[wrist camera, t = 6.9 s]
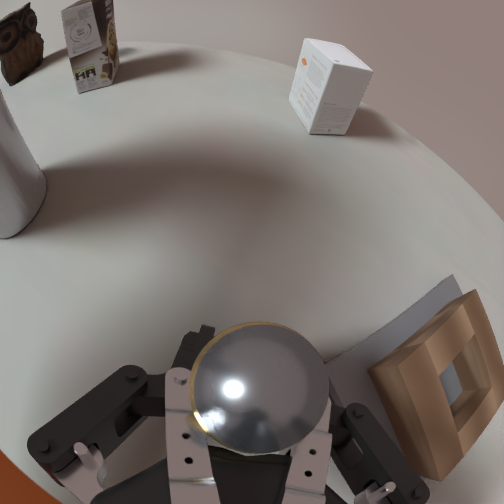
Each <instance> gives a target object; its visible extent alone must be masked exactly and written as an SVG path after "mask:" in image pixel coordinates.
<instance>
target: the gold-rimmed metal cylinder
mask: <svg viewBox="0 0 504 504" xmlns="http://www.w3.org/2000/svg"><path fill="white" fill-rule="evenodd" d="M328 397H329V378H328V373H327V369H326V366H325V364H324V362H323V360H322V358H321V356H320V354H319V353H318V352H317V350H316V349H315V348H314V347H313V346H312V345H311V344H310V343H309V342H308V341H307V340H306V339H305V338H304V337H303V336H301V335H300V334H299V333H297V332H295V331H293V330H292V329H289V328H287V327H285V326H282V325H278V324H275V323H269V322H249V323H244V324H240V325H237V326H234V327H231V328H229V329H227V330H225V331H223V332H221V333H220V334H218V335H217V336H215V337H214V338H213V339H212V340H211V341H209V342H208V343H207V345H206V346H205V347H204V348H203V349H202V351H201V352H200V353H199V355H198V356H197V358H196V360H195V362H194V365H193V368H192V370H191V374H190V379H189V398H190V403H191V407H192V410H193V412H194V415H195V417H196V419H197V420H198V422H199V424H200V425H201V426H202V428H203V429H204V430H205V431H206V432H207V433H208V434H209V435H210V436H211V437H212V438H213V439H215V440H216V441H217V442H219V443H221V444H222V445H224V446H226V447H228V448H231V449H233V450H236V451H240V452H245V453H254V454H258V453H269V452H276V451H279V450H283V449H286V448H288V447H290V446H293V445H294V444H296V443H298V442H299V441H301V440H302V439H304V438H305V437H306V436H307V435H308V434H309V433H310V432H311V431H312V430H313V429H314V428H315V427H316V425H317V424H318V423H319V421H320V419H321V418H322V416H323V414H324V411H325V409H326V406H327V402H328Z"/></svg>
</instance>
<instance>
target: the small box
mask: <svg viewBox="0 0 504 504" xmlns="http://www.w3.org/2000/svg"><path fill="white" fill-rule="evenodd" d="M372 74H373V70H371V69H370V68H369V67H368V66H367V65H366V64H365V63H363V62H362V61H361V60H360V59H359V58H357V57H356V56H355V55H354V54H353V53H351V52H350V51H349V50H348V49H347V48H345V47H344V46H343V45H340V44H335V43H331V42H326V41H321V40H315V39H309V38H305V39H304V43H303V46H302V50H301V54H300V58H299V62H298V65H297V69H296V73H295V77H294V80H293V84H292V88H291V92H290V96H289V99H288V100H289V102H290V103H291V105H292V107H293V108H294V110H295V111H296V113H297V115H298V116H299V118H300V120H301V121H302V123H303V125H304V126H305V128H306V130H307V131H308V133H309V134H340V135H345V134H346V132H347V130H348V127H349V125H350V123H351V121H352V119H353V117H354V115H355V112H356V110H357V108H358V106H359V104H360V101H361V99H362V97H363V95H364V92H365V90H366V88H367V86H368V83H369V81H370V79H371V77H372Z"/></svg>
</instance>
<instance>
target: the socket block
mask: <svg viewBox="0 0 504 504" xmlns="http://www.w3.org/2000/svg"><path fill="white" fill-rule="evenodd" d="M451 362H453V365H454V368H455V370H456V373H457V376H458V379H459V382H460V385H461V388H462V392H461V394H460V395H459V396H458V397H457V398H456V400H455V401H454V402H453V403H452V404H451V405H450V406H449V403H448V400H447V397H446V395H445V392H444V389H443V386H442V384H441V381H440V378H439V375H440V374H441V373H442V372H443V371H444V370H445V369H446V368H447V366H448V365H449V364H450V363H451ZM367 371H368V374H369V376H370V378H371V380H372V382H373V384H374V386H375V389H376V391H377V393H378V395H379V397H380V400H381V402H382V404H383V406H384V408H385V411H386V413H387V415H388V418H389V420H390V422H391V424H392V427H393V429H394V432H395V434H396V436H397V439H398V441H399V444H400V446H401V448H402V451H403V453H404V456H405V458H406V459H407V460H408V462H409V463H410V464H411V466H412V467H413V468H414V469H415V471H416V472H417V473H418V475H419V476H422V477H425V478H429V479H433V480H436V481H440V482H441V481H442V480H443V479H444V478H445V477H446V476H447V474H448V473H449V472H450V471H451V470H452V469H453V468H454V467H455V466H456V465H457V463H458V462H459V461H460V460H461V459H462V458H463V457H464V455H465V454H466V453H467V452H468V450H469V449H470V448H471V447H472V445H473V444H474V443H475V442H476V440H477V439H478V438H479V436H480V435H481V434H482V432H483V431H484V429H485V428H486V427H487V425H488V424H489V422H490V421H491V419H492V418H493V416H494V415H495V413H496V412H497V410H498V408H499V407H500V405H501V403H502V402H503V400H504V365H503V362H502V358H501V355H500V351H499V348H498V345H497V342H496V339H495V336H494V333H493V330H492V328H491V325H490V322H489V320H488V317H487V314H486V312H485V309H484V307H483V305H482V302H481V300H480V298H479V295H478V293H477V291H476V289H474V290H472V291H470V292H468V293H466V294H464V295H462V296H460V297H458V298H456V299H454V300H452V301H450V302H448V303H447V304H446V305H445V306H444V307H443V308H442V309H441V310H440V311H439V312H438V313H437V314H435V315H434V316H433V317H432V318H431V319H430V320H429V321H428V322H427V323H426V324H424V325H423V326H422V327H421V328H420V329H419V330H418V331H416V332H415V333H414V334H413V335H412V336H410V337H409V338H408V339H407V340H406V341H404V342H403V343H402V344H401V345H399V346H398V347H397V348H396V349H394V350H393V351H392V352H390V353H389V354H388V355H387V356H385V357H384V358H383V359H381V360H380V361H378V362H377V363H376V364H374V365H373V366H372V367H370V368H369V369H367Z"/></svg>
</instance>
